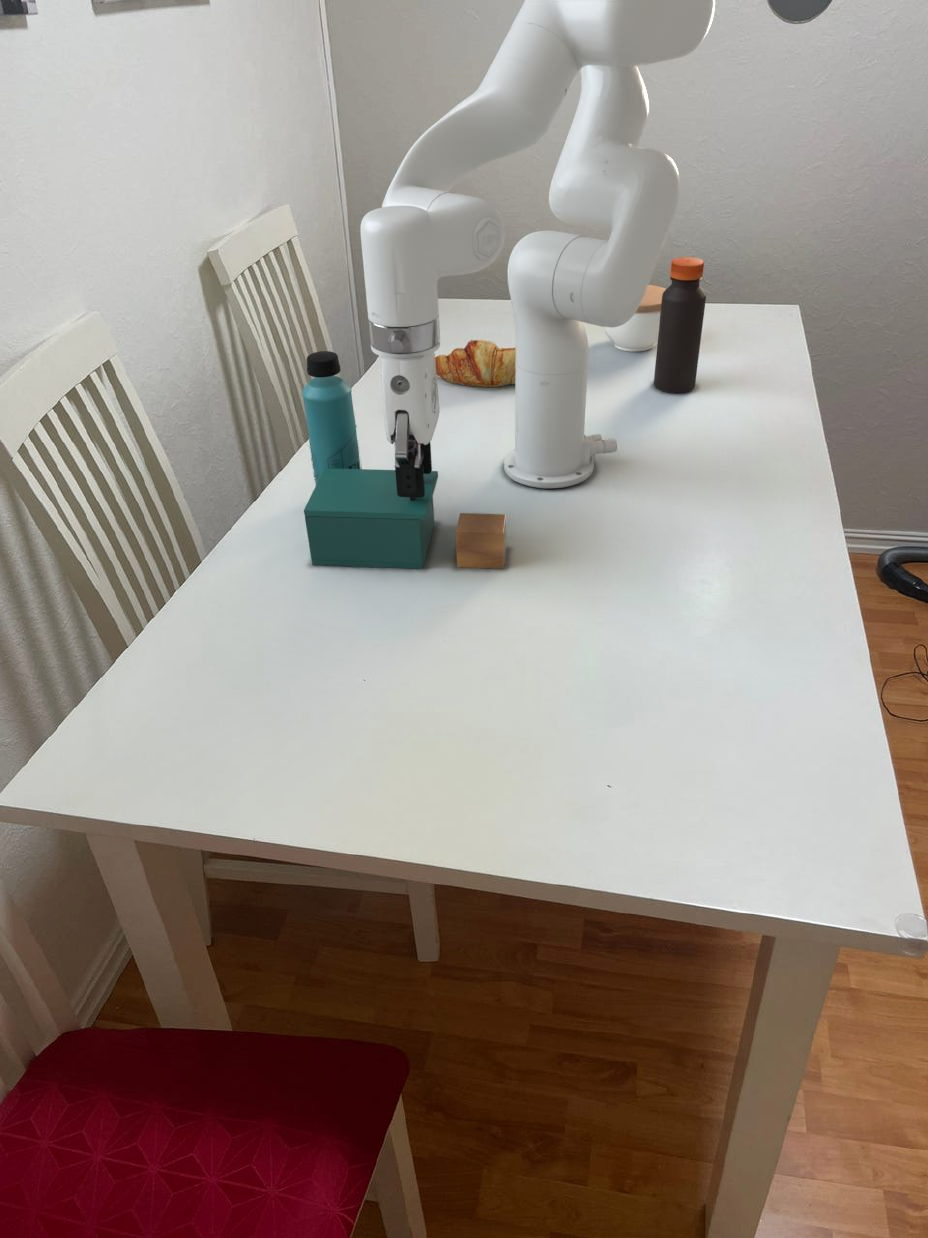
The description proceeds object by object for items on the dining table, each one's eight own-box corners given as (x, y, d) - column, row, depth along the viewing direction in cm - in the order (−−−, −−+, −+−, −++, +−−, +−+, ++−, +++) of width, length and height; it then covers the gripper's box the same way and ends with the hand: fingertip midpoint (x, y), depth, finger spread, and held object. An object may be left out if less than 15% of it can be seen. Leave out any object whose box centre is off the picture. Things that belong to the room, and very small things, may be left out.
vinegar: (645, 387, 152) (656, 262, 140) (666, 375, 156) (679, 252, 144) (681, 397, 148) (696, 270, 136) (702, 384, 152) (718, 259, 140)
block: (506, 549, 113) (506, 514, 110) (503, 569, 109) (503, 533, 106) (461, 547, 113) (459, 512, 110) (457, 567, 110) (455, 531, 107)
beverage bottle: (357, 511, 121) (340, 365, 109) (309, 508, 122) (287, 363, 110) (370, 488, 126) (356, 346, 114) (325, 485, 127) (305, 344, 116)
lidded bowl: (592, 335, 172) (595, 275, 166) (657, 330, 173) (663, 270, 167) (607, 359, 162) (611, 296, 156) (677, 354, 163) (684, 291, 156)
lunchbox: (434, 523, 118) (431, 476, 114) (422, 569, 110) (419, 519, 106) (331, 520, 119) (325, 474, 115) (312, 565, 111) (304, 516, 107)
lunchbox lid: (438, 476, 114) (436, 436, 111) (426, 519, 105) (423, 477, 102) (325, 473, 115) (320, 434, 112) (304, 516, 107) (298, 474, 104)
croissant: (548, 393, 159) (551, 346, 158) (547, 387, 149) (550, 336, 148) (428, 388, 161) (430, 341, 160) (419, 382, 152) (421, 332, 150)
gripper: (428, 362, 91) (436, 521, 102) (449, 307, 104) (454, 452, 115) (354, 362, 92) (370, 519, 102) (384, 307, 105) (396, 451, 116)
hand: (415, 482), depth 109 cm, fingers closed on lunchbox lid, 5 cm apart
